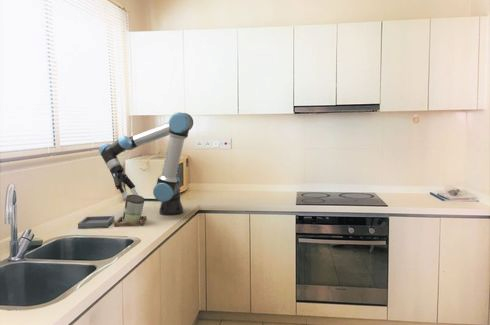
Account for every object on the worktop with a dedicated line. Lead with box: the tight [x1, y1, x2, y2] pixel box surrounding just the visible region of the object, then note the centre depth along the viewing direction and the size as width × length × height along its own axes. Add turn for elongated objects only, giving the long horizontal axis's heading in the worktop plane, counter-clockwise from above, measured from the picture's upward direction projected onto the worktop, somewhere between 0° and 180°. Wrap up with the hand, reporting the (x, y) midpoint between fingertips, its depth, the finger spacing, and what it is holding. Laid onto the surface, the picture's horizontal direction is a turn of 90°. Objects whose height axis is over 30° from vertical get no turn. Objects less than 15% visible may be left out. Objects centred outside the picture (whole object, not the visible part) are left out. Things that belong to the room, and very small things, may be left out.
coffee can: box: [122, 194, 146, 223], centre depth 235 cm, size 10×10×14 cm
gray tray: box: [77, 215, 115, 230], centre depth 235 cm, size 16×16×3 cm
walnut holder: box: [113, 215, 148, 228], centre depth 237 cm, size 15×15×2 cm
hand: (131, 197), depth 243 cm, fingers open, 13 cm apart
